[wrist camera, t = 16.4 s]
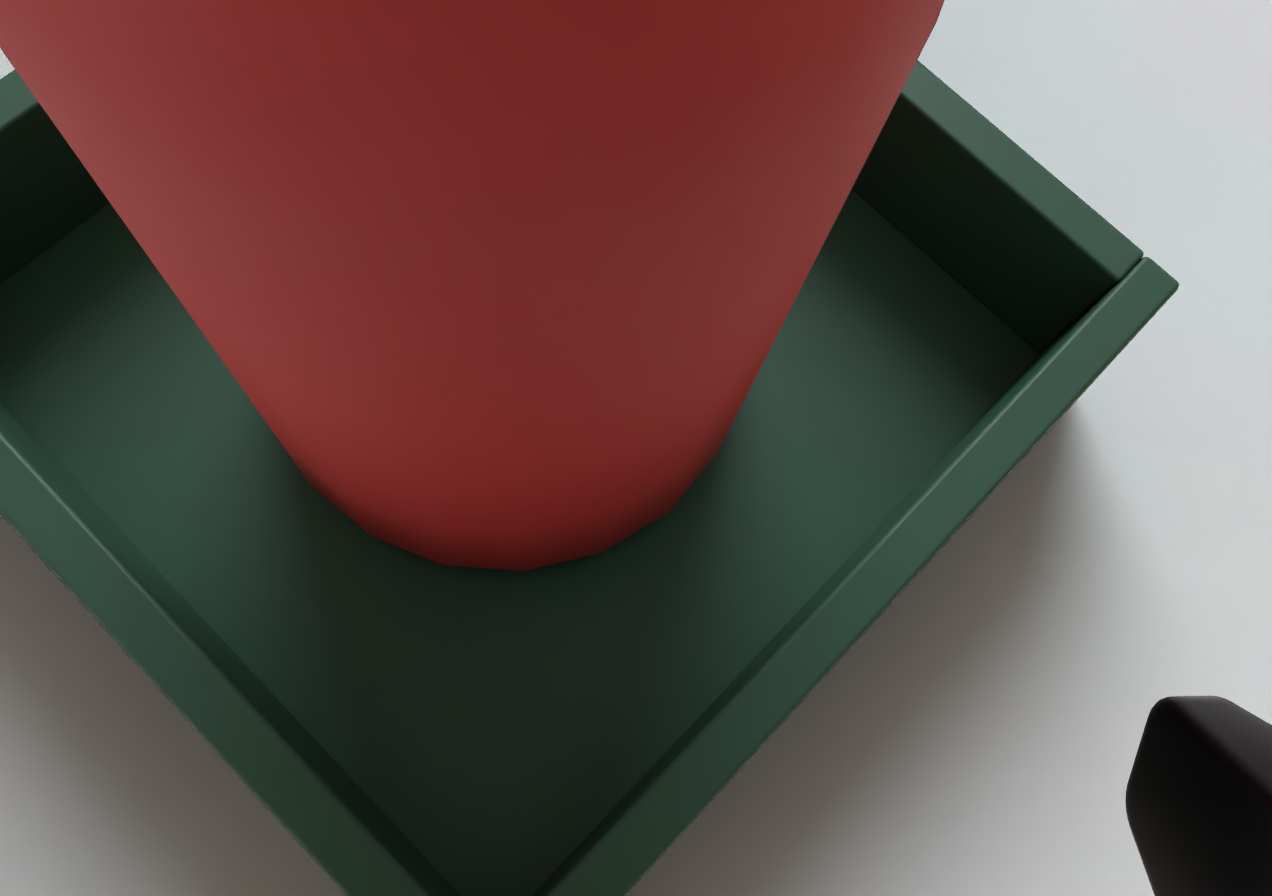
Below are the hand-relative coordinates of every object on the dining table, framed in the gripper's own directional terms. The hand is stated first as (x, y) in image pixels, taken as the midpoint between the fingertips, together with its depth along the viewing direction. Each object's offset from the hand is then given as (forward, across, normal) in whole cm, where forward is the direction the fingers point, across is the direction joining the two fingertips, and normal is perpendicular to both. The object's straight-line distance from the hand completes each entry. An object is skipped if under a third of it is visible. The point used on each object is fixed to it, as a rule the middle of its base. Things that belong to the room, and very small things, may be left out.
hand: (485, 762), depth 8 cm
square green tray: (+10, 0, +2) cm, 10 cm away
